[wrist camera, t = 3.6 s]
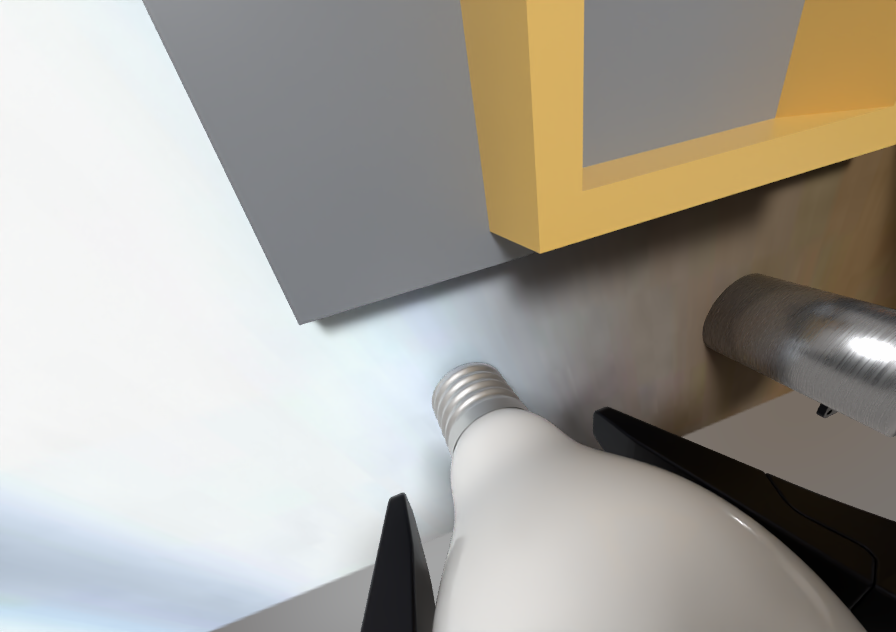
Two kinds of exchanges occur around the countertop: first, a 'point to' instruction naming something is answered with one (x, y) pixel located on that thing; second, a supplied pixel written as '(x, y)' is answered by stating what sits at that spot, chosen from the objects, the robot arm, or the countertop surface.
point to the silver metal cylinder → (811, 344)
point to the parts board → (511, 120)
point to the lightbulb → (600, 536)
